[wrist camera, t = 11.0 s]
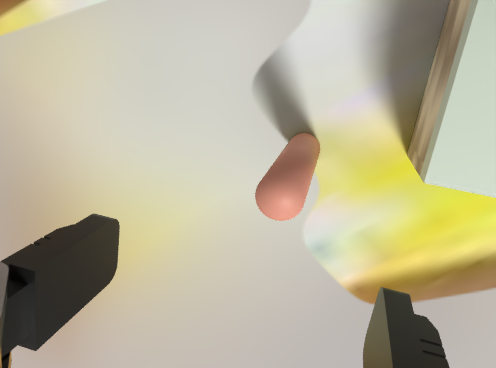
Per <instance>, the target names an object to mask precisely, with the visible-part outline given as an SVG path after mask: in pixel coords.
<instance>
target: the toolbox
mask: <svg viewBox="0 0 496 368" xmlns="http://www.w3.org/2000/svg"><path fill="white" fill-rule="evenodd" d="M470 2H471V0H450V2H449V5H448V9H447V13H446V16H445V20H444V23H443V27H442V31H441V34H440V38H439V41H438V45H437V49H436V52H435V56H434V59H433V63H432V67H431V70H430V74H429V77H428V81H427V85H426V88H425V92H424V95H423V99H422V103H421V106H420V110H419V113H418V117H417V121H416V124H415V128H414V131H413V135H412V139H411V142H410V146H409V149H408V153H407V156H408V158H409V159H410V161H411V162H412V164H413V166H414V167H415V169H416V171H417V172H418V174H419V176H420V174H421V170H422V167H423V163H424V160H425V157H426V153H427V150H428V146H429V143H430V139H431V136H432V133H433V129H434V126H435V122H436V119H437V115H438V112H439V109H440V105H441V102H442V98H443V95H444V91H445V88H446V85H447V81H448V78H449V74H450V71H451V67H452V64H453V61H454V57H455V54H456V50H457V47H458V44H459V40H460V37H461V33H462V30H463V26H464V23H465V20H466V16H467V13H468V9H469V6H470Z"/></svg>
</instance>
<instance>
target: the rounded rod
mask: <svg viewBox="0 0 496 368" xmlns="http://www.w3.org/2000/svg"><path fill="white" fill-rule="evenodd" d="M319 153H320V144H319V142H318V140H317V139H316V138H315V137H314V136H313V135H311V134H309V133H299V134H297V135H295V136H294V137H292V139H291V140H290V141H289V143H288V144H287V145H286V147H285V148H284V150H283V151H282V152H281V154H280V155H279V156H278V158H277V159H276V161H275V162H274V163H273V165H272V166H271V168H270V169H269V170H268V172H267V173H266V174H265V176H264V177H263V179H262V180H261V181H260V183H259V184H258V186H257V189H256V193H255V194H256V195H255V197H256V202H257V205H258V207H259V209H260V210H261V211H262V213H263V214H265V215H266V216H267V217H269V218H271V219H274V220H279V221H284V220H289V219H291V218H293V217H295V216H296V215H297V214H299V212H300V211H301V210H302V208H303V205H304V202H305V199H306V196H307V192H308V189H309V186H310V182H311V179H312V176H313V173H314V170H315V166H316V163H317V160H318V156H319Z"/></svg>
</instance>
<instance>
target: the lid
mask: <svg viewBox="0 0 496 368" xmlns="http://www.w3.org/2000/svg"><path fill="white" fill-rule="evenodd" d="M420 177H421V179H422V181H423V182H424V183H427V184H432V185H436V186H441V187H446V188H451V189H456V190H461V191H466V192H471V193H476V194H480V195H485V196H490V197H495V198H496V0H471V2H470V6H469V9H468V13H467V16H466V20H465V23H464V26H463V30H462V33H461V37H460V40H459V44H458V47H457V50H456V54H455V57H454V61H453V64H452V67H451V71H450V74H449V78H448V81H447V85H446V88H445V91H444V95H443V98H442V102H441V105H440V109H439V112H438V115H437V119H436V122H435V126H434V129H433V133H432V136H431V139H430V143H429V146H428V150H427V153H426V157H425V160H424V163H423V167H422V170H421V174H420Z"/></svg>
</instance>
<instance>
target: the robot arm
mask: <svg viewBox="0 0 496 368" xmlns="http://www.w3.org/2000/svg"><path fill="white" fill-rule="evenodd" d="M118 245H119V222H118V220H117V219H113V218H109V217H105V216H102V215H98V214H92V215H90V216H88V217H87V218H85V219H83V220H81V221H80V222H78V223H76V224H75V225H70V226H66V227H63V228H59V229H56V230H54V231H53V232H51V233H49V234H48V235H46V236H44V238H40V239H39V240H37V241H35V242H34V244H30V245H28V246H27V247H25V248H23V249H21V250H20V251H18V252H16V253H14V254H13V255H11V256H9V257H8V258H6V259H4V260H2V261H1V262H0V368H11V361H12V359H11V350H12V349H14V347H16V346H17V345H19V346H22V347H25V348H28V349H31V350H34V351H36V350H37V349H39V348H40V347H41V346H42V345H43V344H44V343H45V342H46V341H47V340H48V339H49V338H51V337H52V336H53V335H54V334H55V333H56V332H57V331H58V330H59V329H60V328H61V327H63V326H64V325H65V324H66V323H67V322H68V321H69V320H70V319H71V318H72V317H73V316H74V315H76V314H77V313H78V312H79V311H80V310H81V309H82V308H83V307H84V306H85V305H86V304H87V303H89V302H90V301H91V300H92V299H93V298H94V297H95V296H96V295H97V294H98V293H99V292H101V291H102V289H104V288H105V287H106V286H107V285H108V284H109V283H110V281H111V280H112V279H113V277H114V275H115V272H116V269H117V261H118ZM363 368H449V365H448V362H447V360H446V355H445V352H444V349H443V347H442V342H441V339H440V336H439V333H438V330H437V329H436V328H435V327H434V326H433V324H432V323H431V322H430V321H429V320H428V319H427V317H424V316H420V315H416V314H414V312H413V307H412V303H411V299H410V295H409V294H407V293H403V292H399V291H395V290H391V289H387V288H383V287H381V288H380V290H379V293H378V296H377V299H376V302H375V306H374V309H373V313H372V316H371V320H370V323H369V327H368V330H367V334H366V338H365V343H364V350H363Z"/></svg>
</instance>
